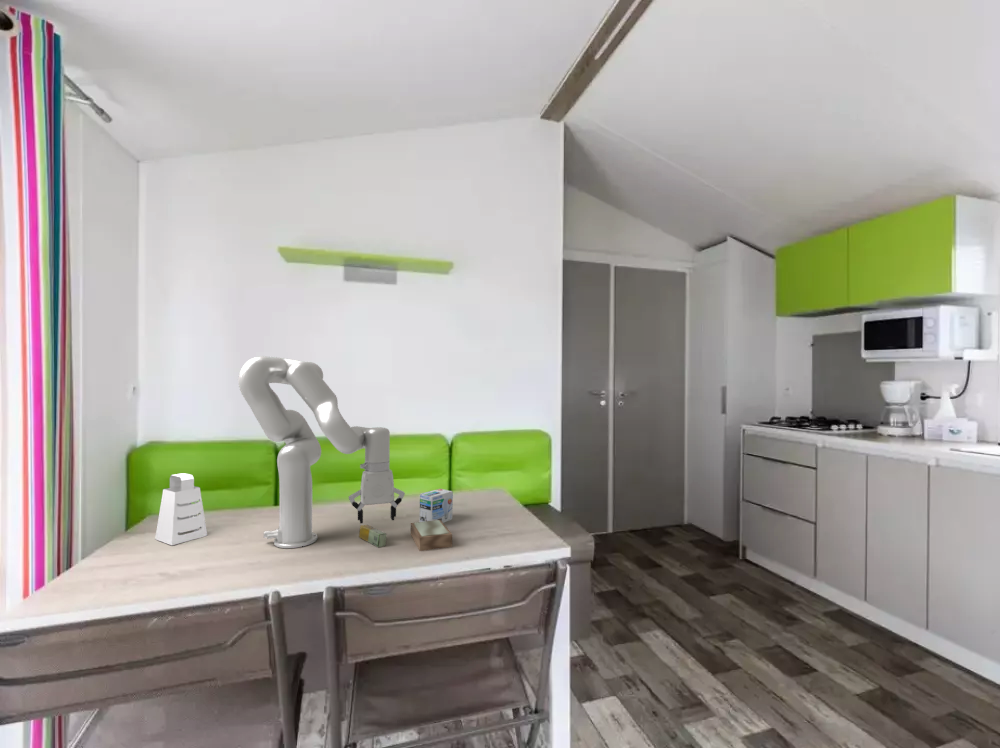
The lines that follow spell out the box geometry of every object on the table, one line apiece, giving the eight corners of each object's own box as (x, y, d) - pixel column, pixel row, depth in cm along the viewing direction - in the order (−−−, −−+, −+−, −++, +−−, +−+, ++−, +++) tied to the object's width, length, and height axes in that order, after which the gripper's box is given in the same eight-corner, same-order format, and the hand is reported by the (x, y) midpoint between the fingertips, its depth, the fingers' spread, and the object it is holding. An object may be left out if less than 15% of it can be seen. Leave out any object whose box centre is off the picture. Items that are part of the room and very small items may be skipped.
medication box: (386, 546, 148) (387, 533, 148) (378, 548, 146) (379, 534, 146) (365, 536, 156) (367, 523, 156) (358, 537, 154) (359, 524, 154)
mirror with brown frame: (419, 551, 143) (419, 537, 143) (410, 535, 157) (410, 522, 157) (452, 547, 147) (452, 533, 147) (440, 531, 161) (440, 519, 161)
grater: (190, 529, 161) (190, 470, 161) (207, 535, 156) (207, 474, 156) (155, 539, 152) (155, 476, 152) (171, 545, 147) (172, 480, 147)
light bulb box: (432, 528, 165) (432, 496, 165) (418, 524, 169) (418, 493, 169) (453, 520, 173) (453, 490, 173) (439, 517, 177) (440, 488, 177)
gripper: (349, 470, 145) (349, 527, 146) (406, 467, 152) (406, 521, 152) (348, 466, 152) (347, 520, 153) (402, 463, 159) (402, 514, 159)
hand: (376, 520), depth 152 cm, fingers open, 9 cm apart
